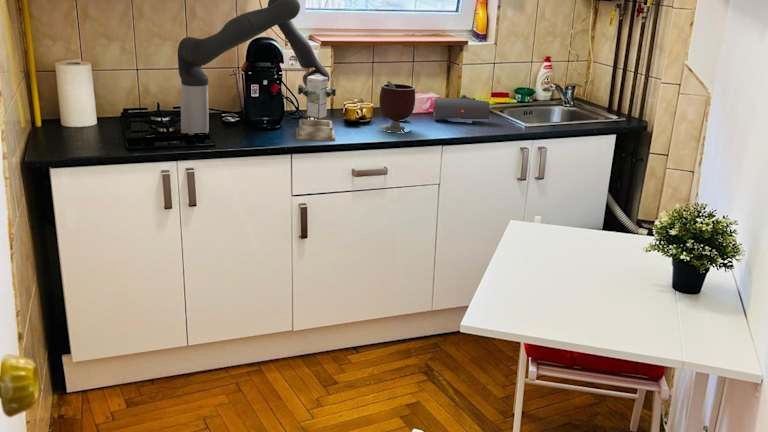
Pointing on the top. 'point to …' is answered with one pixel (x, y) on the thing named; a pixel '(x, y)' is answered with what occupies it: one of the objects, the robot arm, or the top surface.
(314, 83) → the syrup box
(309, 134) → the beige square tray
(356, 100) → the tin
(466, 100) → the bluetooth speaker
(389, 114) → the mate gourd
